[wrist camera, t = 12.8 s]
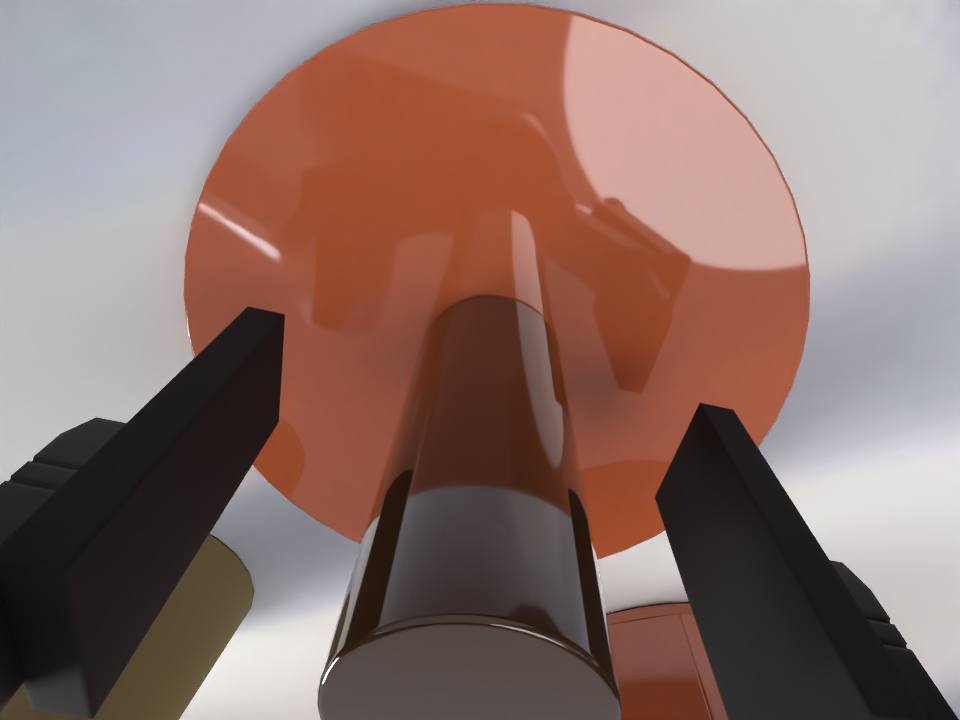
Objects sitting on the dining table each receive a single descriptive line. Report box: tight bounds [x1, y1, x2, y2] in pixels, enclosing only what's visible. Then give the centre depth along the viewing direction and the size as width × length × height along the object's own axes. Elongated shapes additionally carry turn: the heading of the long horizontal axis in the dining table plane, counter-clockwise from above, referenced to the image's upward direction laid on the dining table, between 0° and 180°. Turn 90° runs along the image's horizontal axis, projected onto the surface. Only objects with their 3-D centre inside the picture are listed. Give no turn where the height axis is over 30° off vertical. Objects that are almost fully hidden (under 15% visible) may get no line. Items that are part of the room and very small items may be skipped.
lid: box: [184, 2, 810, 720], centre depth 11 cm, size 16×16×10 cm
